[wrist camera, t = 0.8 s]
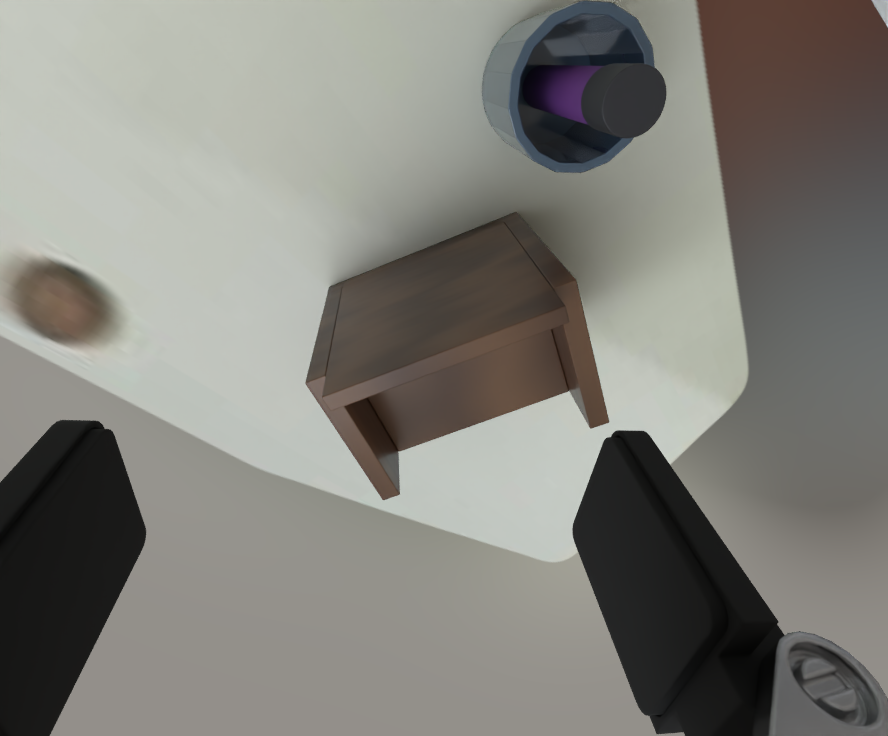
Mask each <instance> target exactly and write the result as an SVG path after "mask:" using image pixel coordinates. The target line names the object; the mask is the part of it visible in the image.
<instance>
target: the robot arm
mask: <svg viewBox="0 0 888 736" xmlns="http://www.w3.org/2000/svg"><path fill="white" fill-rule="evenodd" d="M145 538H146V528H145V525H144V522H143V519H142V516H141V513H140V510H139V507H138V504H137V501H136V498H135V495H134V492H133V489H132V486H131V483H130V480H129V477H128V474H127V471H126V468H125V465H124V462H123V459H122V456H121V454H120V451H119V448H118V445H117V442H116V439H115V436H114V434H113V432H112V431H111V430H109V429H104V427H103V425H102V424H101V423H100V422H99V421H80V420H79V421H77V420H61V421H58V422H56V423H55V424H53V425H52V426H51V427H50V428H49V429H48V431H47V432H46V433H45V434H44V435H43V436H42V437H41V438H40V439H39V440H38V442H37V443H36V444H35V445H34V446H33V447H32V448H31V449H30V450H29V452H28V453H27V454H26V455H25V456H24V457H23V458H22V459H21V460H20V462H19V463H18V464H17V465H16V466H15V467H14V468H13V469H12V470H11V471H10V472H9V474H8V475H7V476H6V477H5V478H4V479H3V480H2V481H1V482H0V736H50V734H51V731H52V730H53V728H54V726H55V724H56V721H57V720H58V718H59V715H60V714H61V712H62V709H63V708H64V706H65V704H66V702H67V699H68V697H69V695H70V693H71V691H72V689H73V687H74V685H75V683H76V681H77V679H78V677H79V675H80V673H81V671H82V669H83V667H84V665H85V663H86V661H87V659H88V657H89V655H90V653H91V651H92V649H93V647H94V645H95V643H96V641H97V639H98V637H99V635H100V633H101V631H102V629H103V627H104V625H105V623H106V621H107V619H108V617H109V615H110V613H111V611H112V609H113V607H114V605H115V603H116V601H117V599H118V597H119V595H120V593H121V591H122V589H123V587H124V585H125V583H126V581H127V579H128V577H129V575H130V573H131V571H132V569H133V567H134V564H135V563H136V561H137V559H138V557H139V555H140V553H141V551H142V548H143V546H144V543H145ZM573 538H574V542H575V544H576V547H577V550H578V552H579V555H580V557H581V560H582V562H583V565H584V568H585V570H586V573H587V575H588V578H589V581H590V583H591V586H592V588H593V591H594V594H595V596H596V599H597V601H598V604H599V607H600V609H601V611H602V614H603V617H604V619H605V622H606V625H607V627H608V630H609V632H610V635H611V638H612V640H613V643H614V645H615V648H616V651H617V653H618V656H619V658H620V661H621V664H622V666H623V669H624V671H625V674H626V676H627V679H628V682H629V684H630V687H631V689H632V692H633V694H634V697H635V700H636V702H637V704H638V707H639V708H640V710H641V711H642V713H644V714H645V715H648V716H650V718H651V721H652V723H653V726H654V728H655V731H656V733H657V734H665V733H677V732H684V734H685V736H888V699H887V697H886V696H885V693H884V692H883V690H882V688H881V687H880V685H879V683H878V682H877V681H876V679H875V678H874V677H873V676H872V675H871V674H870V672H869V671H868V670H867V669H866V668H865V667H864V666H863V665H862V664H861V663H860V662H859V661H858V660H857V659H855V658H854V657H853V656H852V655H851V654H850V653H848V652H847V651H846V650H844V649H842V648H841V647H839V646H837V645H836V644H835V643H833V642H832V641H830V640H827V639H825V638H823V637H820V636H818V635H815V634H811V633H806V632H800V631H799V632H792V633H788V634H786V635H784V634H783V633H782V631H781V630H780V628H779V627H778V625H777V623H778V620H777V619H776V618H775V616H774V615H773V613H772V612H771V610H770V609H769V607H768V606H767V604H766V603H765V602H764V600H763V599H762V597H761V596H760V594H759V593H758V592H757V590H756V589H755V587H754V586H753V584H752V583H751V581H750V580H749V578H748V577H747V576H746V574H745V573H744V571H743V570H742V568H741V567H740V566H739V564H738V563H737V561H736V560H735V558H734V557H733V555H732V554H731V552H730V551H729V550H728V548H727V547H726V545H725V544H724V542H723V541H722V539H721V538H720V537H719V535H718V534H717V532H716V531H715V530H714V528H713V526H712V525H711V524H710V522H709V521H708V519H707V518H706V517H705V515H704V514H703V512H702V511H701V509H700V508H699V506H698V505H697V503H696V502H695V500H694V499H693V498H692V496H691V495H690V493H689V492H688V490H687V489H686V488H685V486H684V485H683V483H682V482H681V480H680V479H679V477H678V476H677V474H676V473H675V472H674V470H673V469H672V467H671V466H670V464H669V463H668V461H667V460H666V459H665V457H664V456H663V454H662V453H661V451H660V450H659V448H658V447H657V446H656V444H655V443H654V441H653V440H652V438H651V437H650V436H649V435H648V434H647V432H644V431H615V432H614V433H613V434H612V436H611V437H609V438H606V439H605V440H604V442H603V445H602V448H601V450H600V453H599V456H598V458H597V461H596V464H595V466H594V469H593V472H592V474H591V477H590V480H589V483H588V485H587V488H586V491H585V493H584V496H583V499H582V501H581V504H580V507H579V509H578V512H577V515H576V518H575V520H574V523H573Z"/></svg>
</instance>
